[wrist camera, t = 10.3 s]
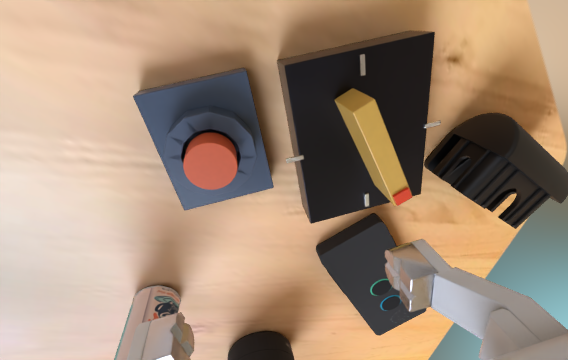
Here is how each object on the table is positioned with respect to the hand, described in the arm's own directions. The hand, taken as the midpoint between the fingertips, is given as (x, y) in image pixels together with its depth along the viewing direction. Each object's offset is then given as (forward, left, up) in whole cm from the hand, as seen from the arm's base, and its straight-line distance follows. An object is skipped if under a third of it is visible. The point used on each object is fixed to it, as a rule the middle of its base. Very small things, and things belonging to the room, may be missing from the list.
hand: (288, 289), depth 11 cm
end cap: (+7, +22, -16) cm, 28 cm away
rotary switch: (+1, +9, -16) cm, 18 cm away
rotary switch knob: (+1, +9, -13) cm, 15 cm away
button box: (-1, -3, -16) cm, 16 cm away
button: (-1, -3, -13) cm, 13 cm away
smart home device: (+22, +11, -16) cm, 29 cm away
